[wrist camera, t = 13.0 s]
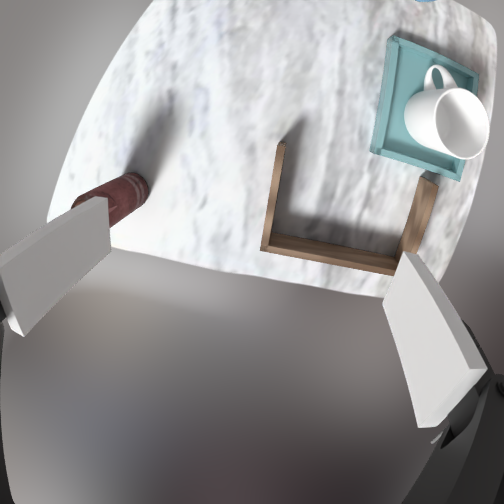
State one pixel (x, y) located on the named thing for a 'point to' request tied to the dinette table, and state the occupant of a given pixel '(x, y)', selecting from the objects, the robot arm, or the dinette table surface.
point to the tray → (397, 95)
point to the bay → (341, 253)
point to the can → (119, 196)
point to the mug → (447, 118)
